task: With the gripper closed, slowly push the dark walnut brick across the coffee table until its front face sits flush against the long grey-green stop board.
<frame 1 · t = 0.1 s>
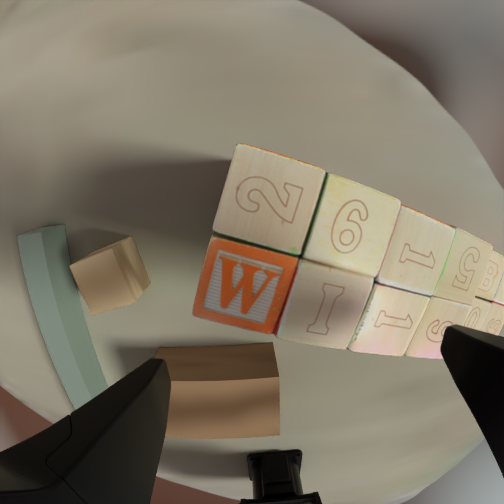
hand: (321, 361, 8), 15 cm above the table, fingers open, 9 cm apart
stack of blocks: (357, 239, 22), on the table
walnut brick: (219, 375, 25), on the table
stop board: (84, 355, 24), on the table
oak cube: (121, 266, 22), on the table
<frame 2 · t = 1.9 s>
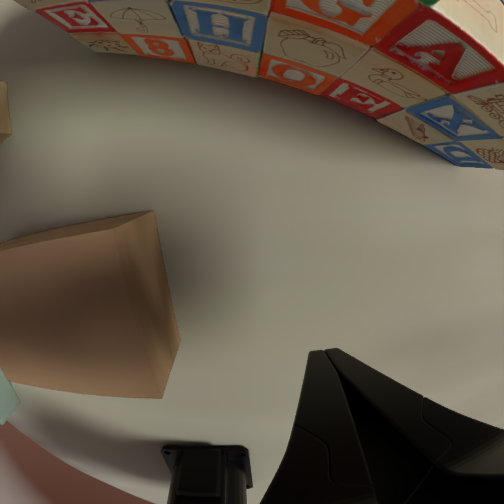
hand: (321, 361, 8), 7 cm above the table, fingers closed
stack of blocks: (302, 39, 12), on the table
walnut brick: (86, 286, 14), on the table
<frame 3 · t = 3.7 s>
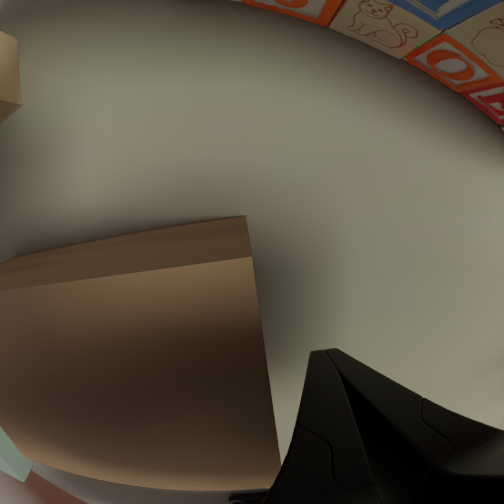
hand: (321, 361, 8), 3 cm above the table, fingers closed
stack of blocks: (430, 27, 8), on the table
walnut brick: (129, 326, 10), on the table, touching gripper
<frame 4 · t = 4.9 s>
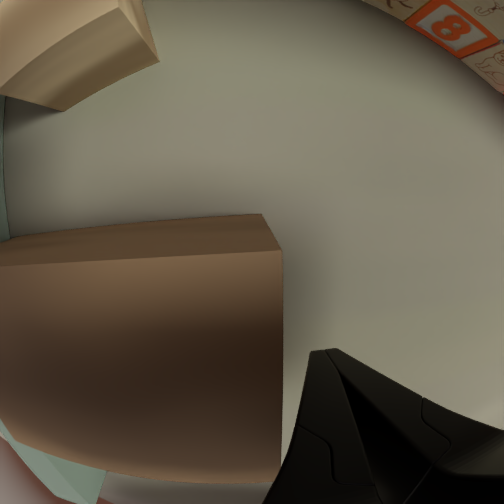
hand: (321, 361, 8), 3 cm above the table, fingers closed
walnut brick: (133, 314, 10), on the table, touching gripper
stop board: (1, 285, 10), on the table
oak cube: (99, 46, 8), on the table
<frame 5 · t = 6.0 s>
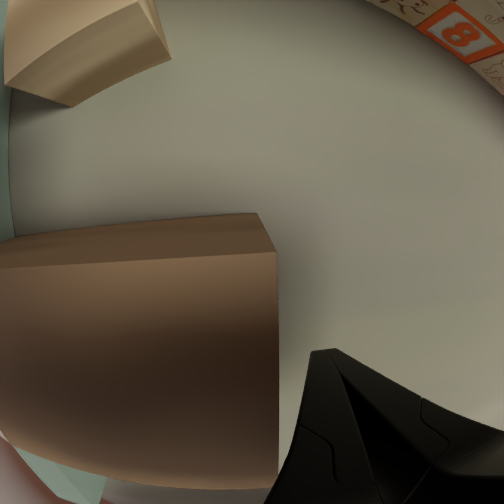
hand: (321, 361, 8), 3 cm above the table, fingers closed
walnut brick: (128, 317, 10), on the table, touching gripper, stop board
stop board: (4, 283, 9), on the table
oak cube: (110, 42, 8), on the table
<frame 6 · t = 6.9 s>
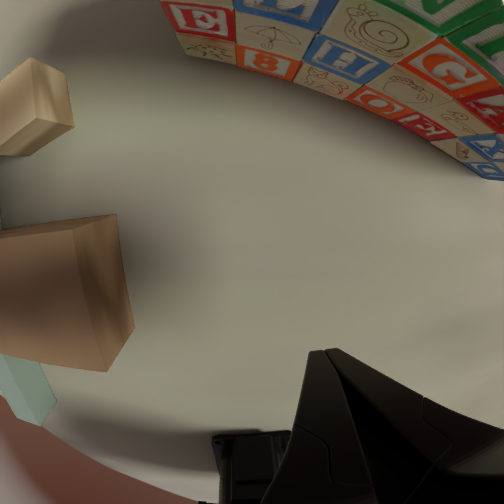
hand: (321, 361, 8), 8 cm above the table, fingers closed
stack of blocks: (374, 69, 14), on the table
walnut brick: (60, 275, 16), on the table
oak cube: (46, 114, 13), on the table
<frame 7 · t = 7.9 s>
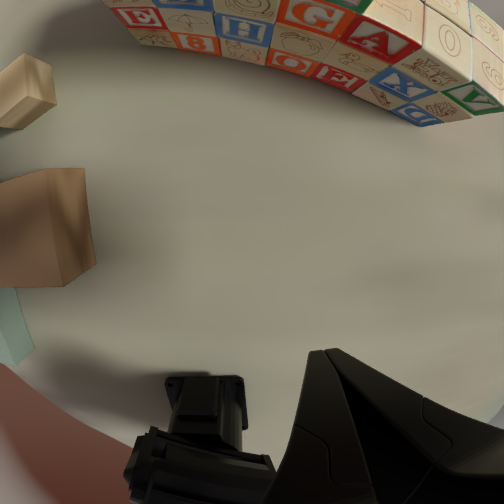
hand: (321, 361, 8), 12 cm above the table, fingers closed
stack of blocks: (296, 39, 16), on the table
walnut brick: (41, 223, 18), on the table
oak cube: (36, 97, 16), on the table
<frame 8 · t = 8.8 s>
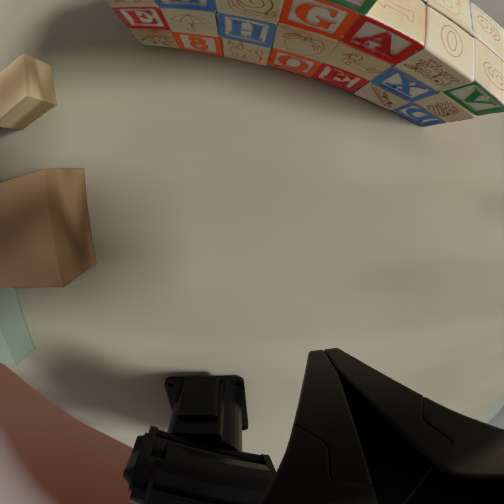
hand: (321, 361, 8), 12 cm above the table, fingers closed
stack of blocks: (298, 39, 16), on the table
walnut brick: (41, 223, 18), on the table
oak cube: (36, 97, 16), on the table
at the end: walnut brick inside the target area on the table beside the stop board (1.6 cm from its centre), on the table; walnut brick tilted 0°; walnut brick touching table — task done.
